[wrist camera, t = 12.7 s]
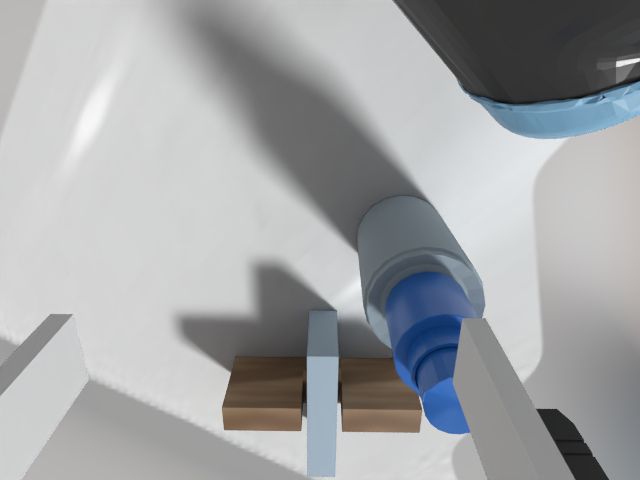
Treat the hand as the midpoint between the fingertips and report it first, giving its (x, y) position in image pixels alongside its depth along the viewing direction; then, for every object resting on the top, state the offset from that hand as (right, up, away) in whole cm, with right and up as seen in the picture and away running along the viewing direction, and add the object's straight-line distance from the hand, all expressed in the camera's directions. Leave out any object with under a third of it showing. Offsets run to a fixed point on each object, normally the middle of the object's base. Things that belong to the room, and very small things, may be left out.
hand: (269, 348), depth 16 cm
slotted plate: (+2, -11, +39) cm, 40 cm away
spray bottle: (+10, +4, +32) cm, 33 cm away
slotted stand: (+2, -11, +39) cm, 40 cm away
